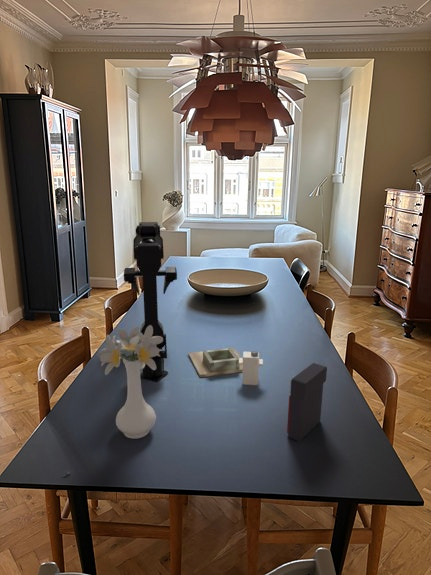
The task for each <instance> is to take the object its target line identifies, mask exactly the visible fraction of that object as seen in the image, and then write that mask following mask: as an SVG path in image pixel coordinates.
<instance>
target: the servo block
mask: <svg viewBox="0 0 431 575" xmlns="http://www.w3.org/2000/svg"><path fill="white" fill-rule="evenodd" d="M239 364H242V365H243V371H242V372H241V373H242V378H241V381H242V382H241V384H242V385H250V386H258V385H259V366H261V367H263V366H264V359H262V358H260V352H258V351H257V350H252V351H243V355H242V358H239Z"/></svg>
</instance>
